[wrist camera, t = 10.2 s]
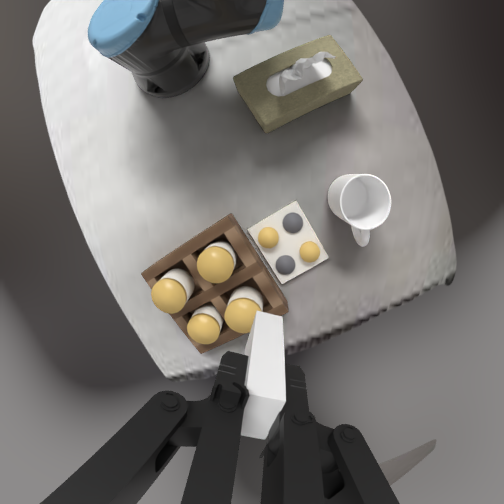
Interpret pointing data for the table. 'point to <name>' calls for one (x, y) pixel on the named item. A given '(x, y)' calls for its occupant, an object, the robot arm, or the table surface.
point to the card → (288, 242)
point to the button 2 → (205, 324)
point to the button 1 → (173, 291)
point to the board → (244, 274)
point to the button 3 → (217, 261)
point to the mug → (360, 203)
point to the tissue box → (297, 82)
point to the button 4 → (243, 308)
